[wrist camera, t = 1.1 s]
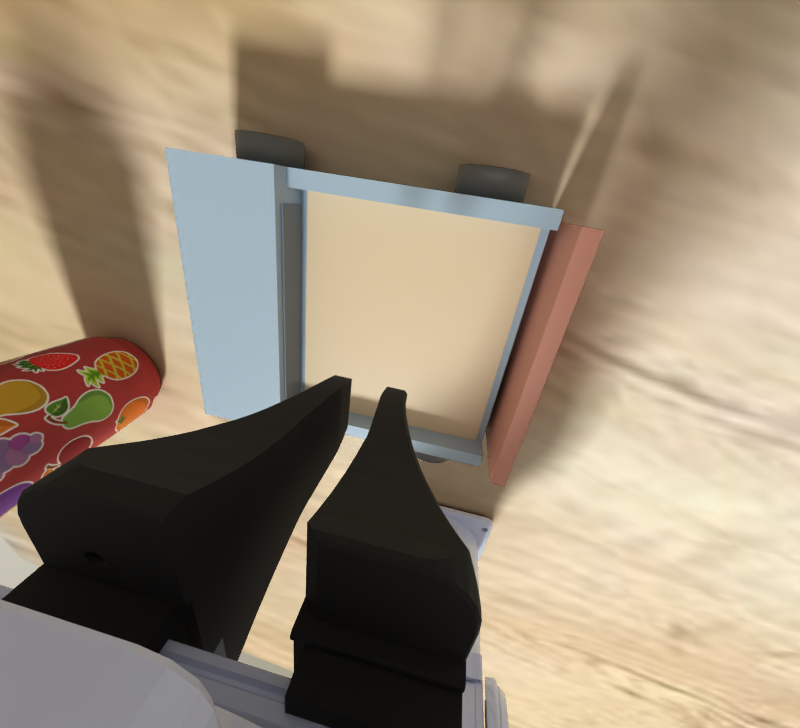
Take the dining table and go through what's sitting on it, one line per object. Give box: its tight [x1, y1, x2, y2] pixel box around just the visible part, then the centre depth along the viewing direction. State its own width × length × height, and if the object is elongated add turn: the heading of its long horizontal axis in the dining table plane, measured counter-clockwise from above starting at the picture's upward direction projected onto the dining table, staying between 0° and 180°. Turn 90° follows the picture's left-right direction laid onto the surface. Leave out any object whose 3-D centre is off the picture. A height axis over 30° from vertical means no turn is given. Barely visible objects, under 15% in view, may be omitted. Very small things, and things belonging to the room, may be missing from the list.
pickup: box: [165, 130, 564, 466], centre depth 19 cm, size 16×17×5 cm
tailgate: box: [486, 222, 604, 486], centre depth 18 cm, size 13×1×6 cm, turn 172°
